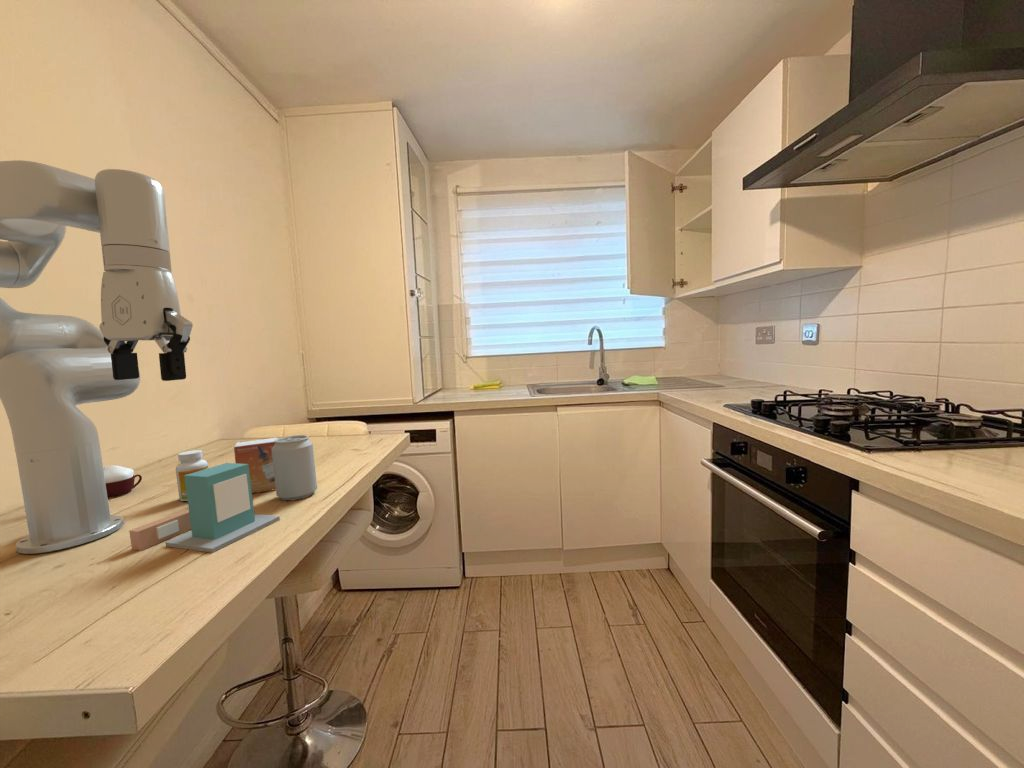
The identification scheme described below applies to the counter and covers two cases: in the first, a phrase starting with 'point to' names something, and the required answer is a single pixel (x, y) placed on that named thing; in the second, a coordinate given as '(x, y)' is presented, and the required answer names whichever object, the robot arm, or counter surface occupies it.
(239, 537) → the mat
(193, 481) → the carton block
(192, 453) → the supplement bottle
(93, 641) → the counter surface
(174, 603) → the counter surface
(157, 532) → the price rail
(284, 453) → the can
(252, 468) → the small box
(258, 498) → the counter surface
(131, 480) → the cocoa
